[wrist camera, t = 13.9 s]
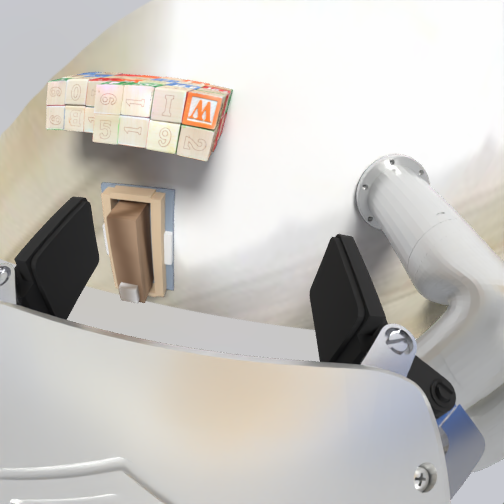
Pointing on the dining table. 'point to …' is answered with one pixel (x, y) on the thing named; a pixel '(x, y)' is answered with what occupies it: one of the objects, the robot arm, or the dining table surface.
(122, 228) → the long brown block
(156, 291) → the cradle
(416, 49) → the dining table surface
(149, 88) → the stack of blocks
